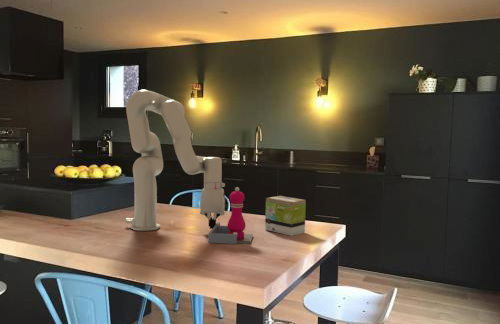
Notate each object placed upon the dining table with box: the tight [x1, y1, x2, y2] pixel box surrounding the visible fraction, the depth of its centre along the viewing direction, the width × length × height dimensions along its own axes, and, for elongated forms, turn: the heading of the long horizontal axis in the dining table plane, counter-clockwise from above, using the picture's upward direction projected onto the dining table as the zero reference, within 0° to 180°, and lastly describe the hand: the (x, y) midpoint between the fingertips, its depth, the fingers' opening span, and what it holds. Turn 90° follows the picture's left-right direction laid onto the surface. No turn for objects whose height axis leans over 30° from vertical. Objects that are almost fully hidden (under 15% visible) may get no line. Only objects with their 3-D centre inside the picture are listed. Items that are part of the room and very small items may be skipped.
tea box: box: [264, 195, 307, 237], centre depth 195 cm, size 15×10×15 cm
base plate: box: [224, 232, 254, 245], centre depth 179 cm, size 12×12×4 cm
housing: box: [207, 221, 238, 245], centre depth 183 cm, size 11×23×4 cm, turn 175°
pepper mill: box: [226, 186, 246, 239], centre depth 179 cm, size 7×7×20 cm
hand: (212, 228), depth 192 cm, fingers closed
